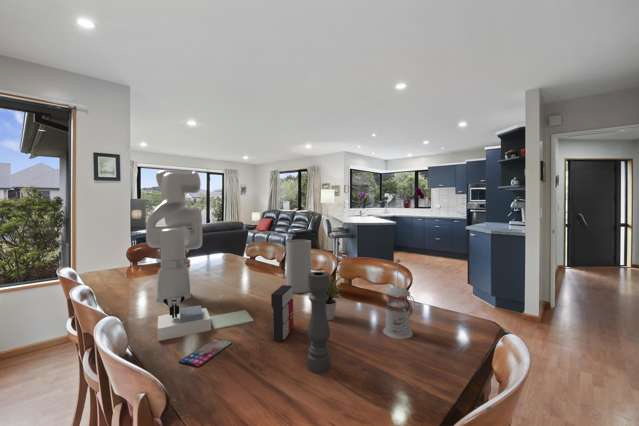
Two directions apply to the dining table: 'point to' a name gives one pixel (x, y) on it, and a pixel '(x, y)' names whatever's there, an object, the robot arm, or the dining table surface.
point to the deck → (181, 326)
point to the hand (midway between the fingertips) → (174, 316)
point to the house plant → (331, 302)
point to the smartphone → (205, 353)
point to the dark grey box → (282, 312)
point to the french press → (398, 313)
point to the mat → (230, 319)
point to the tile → (191, 314)
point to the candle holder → (318, 324)
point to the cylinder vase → (298, 264)
